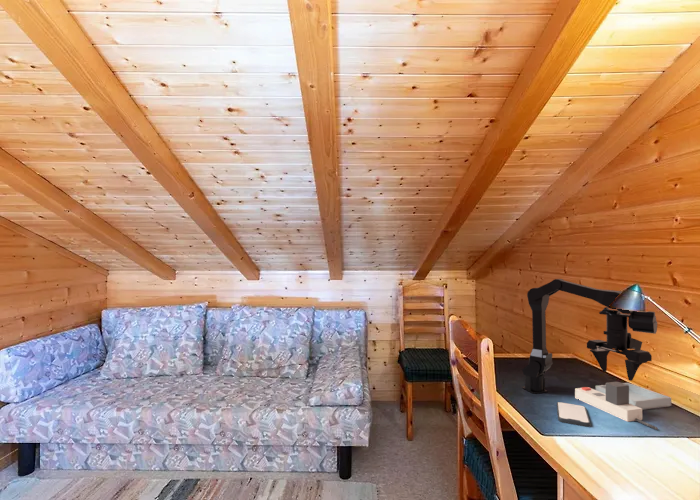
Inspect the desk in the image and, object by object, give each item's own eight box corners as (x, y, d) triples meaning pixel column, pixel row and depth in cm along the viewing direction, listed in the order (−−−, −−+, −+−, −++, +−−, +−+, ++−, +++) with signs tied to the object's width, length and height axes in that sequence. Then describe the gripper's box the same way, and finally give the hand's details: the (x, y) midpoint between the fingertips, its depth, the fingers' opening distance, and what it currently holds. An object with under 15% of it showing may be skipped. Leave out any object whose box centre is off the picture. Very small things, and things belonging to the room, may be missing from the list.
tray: (636, 410, 127) (636, 401, 127) (595, 393, 142) (595, 385, 142) (671, 406, 130) (671, 397, 130) (628, 390, 145) (628, 382, 146)
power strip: (665, 429, 113) (665, 415, 113) (649, 431, 111) (649, 417, 111) (588, 396, 139) (588, 385, 139) (575, 398, 137) (575, 386, 137)
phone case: (556, 405, 132) (557, 422, 117) (556, 401, 132) (557, 417, 118) (585, 410, 128) (591, 429, 113) (585, 406, 128) (591, 423, 113)
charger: (628, 409, 123) (628, 385, 123) (616, 410, 122) (616, 386, 122) (617, 404, 127) (617, 381, 127) (605, 406, 126) (605, 382, 126)
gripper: (664, 333, 118) (665, 383, 118) (610, 323, 136) (610, 366, 136) (637, 335, 115) (637, 386, 115) (585, 324, 133) (585, 368, 133)
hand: (617, 376), depth 125 cm, fingers open, 9 cm apart
